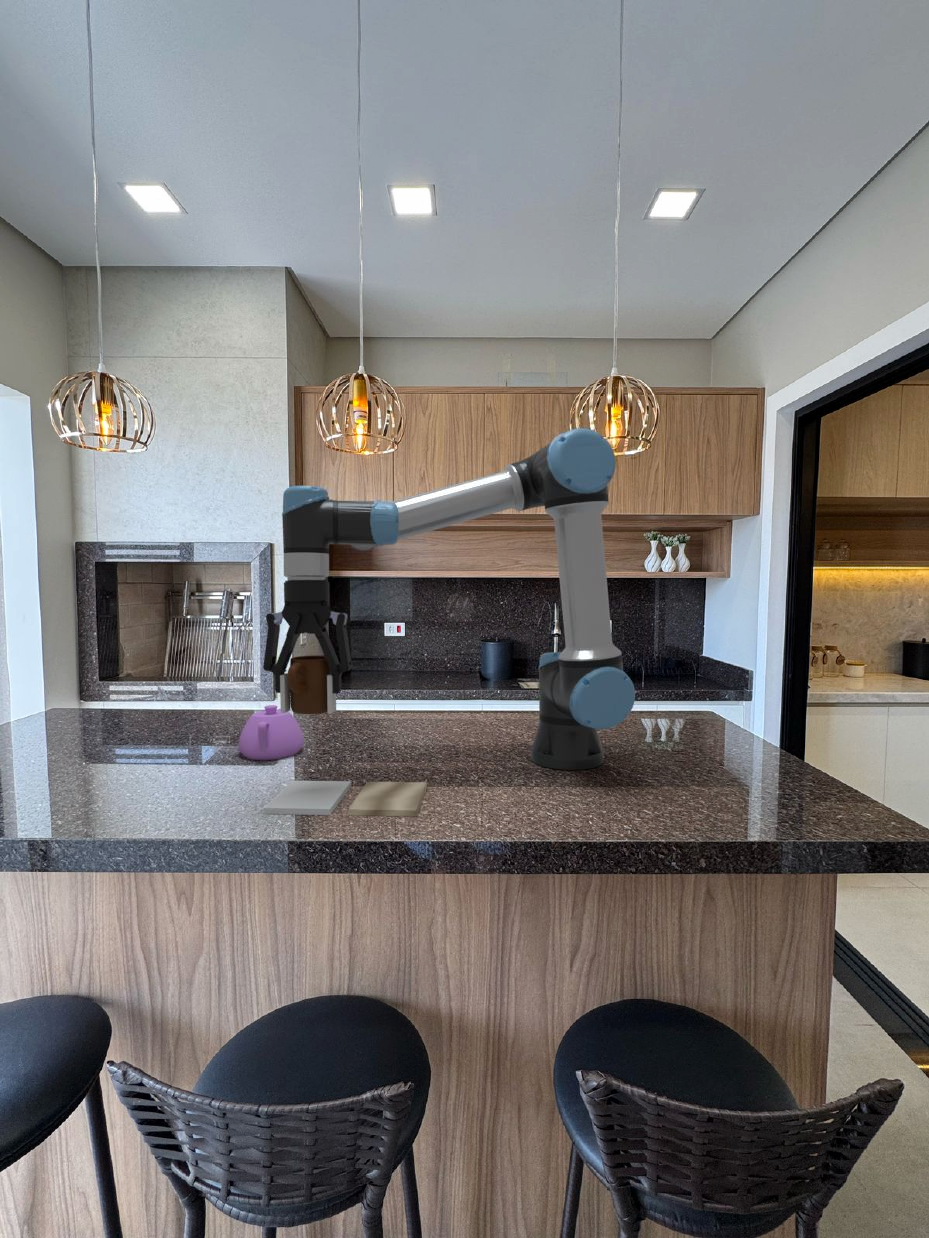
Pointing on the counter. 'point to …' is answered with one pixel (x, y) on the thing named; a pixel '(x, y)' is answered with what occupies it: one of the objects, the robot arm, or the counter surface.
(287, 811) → the tile grey
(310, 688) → the mug
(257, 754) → the teapot
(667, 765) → the counter surface
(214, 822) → the counter surface
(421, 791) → the tile oak
